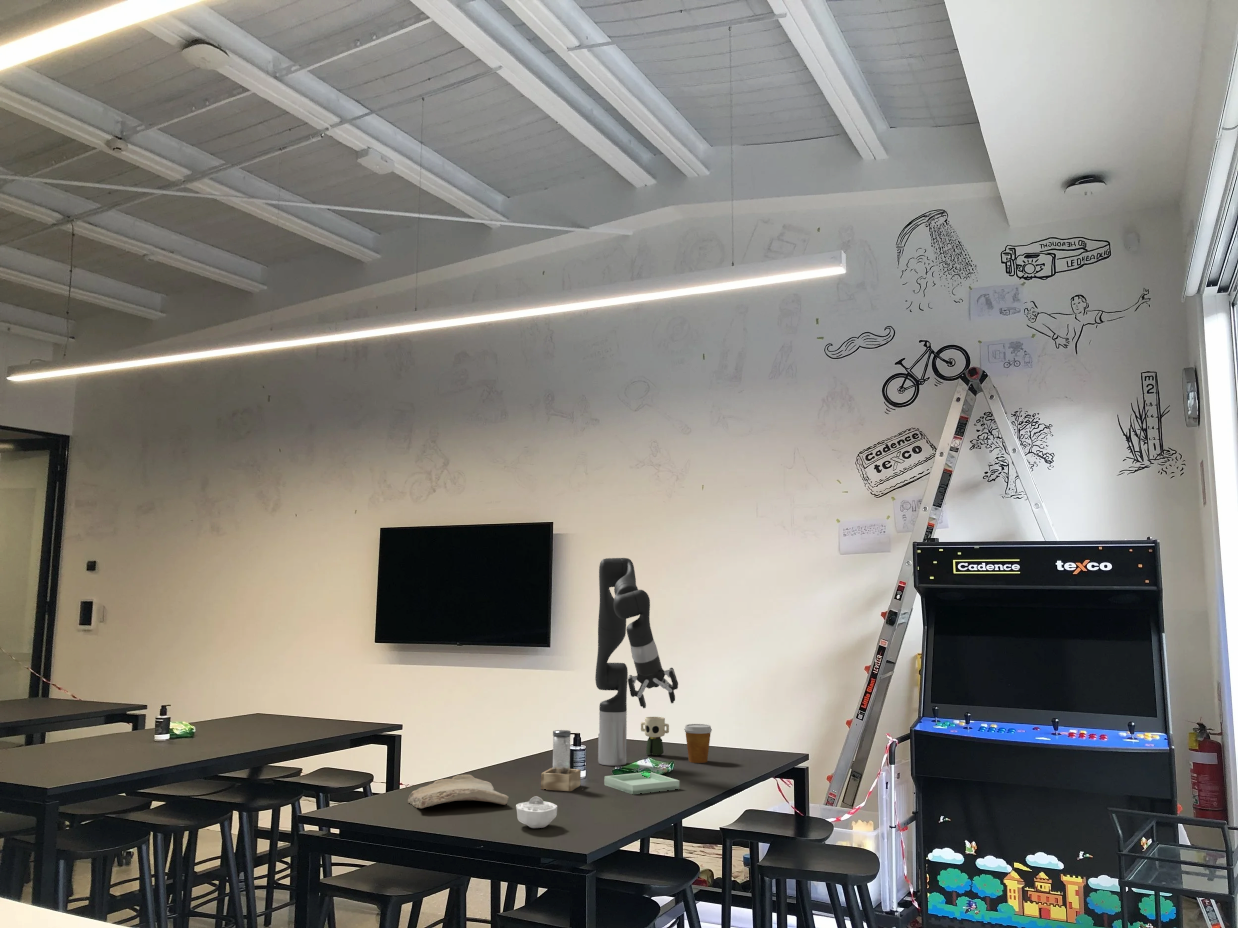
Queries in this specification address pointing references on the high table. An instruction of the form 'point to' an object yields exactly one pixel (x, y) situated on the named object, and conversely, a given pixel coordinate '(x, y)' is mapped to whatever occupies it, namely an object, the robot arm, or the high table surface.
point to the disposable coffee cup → (698, 742)
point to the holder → (560, 780)
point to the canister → (561, 751)
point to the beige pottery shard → (456, 792)
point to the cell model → (536, 812)
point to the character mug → (654, 734)
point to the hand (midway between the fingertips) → (658, 704)
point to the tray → (641, 783)
